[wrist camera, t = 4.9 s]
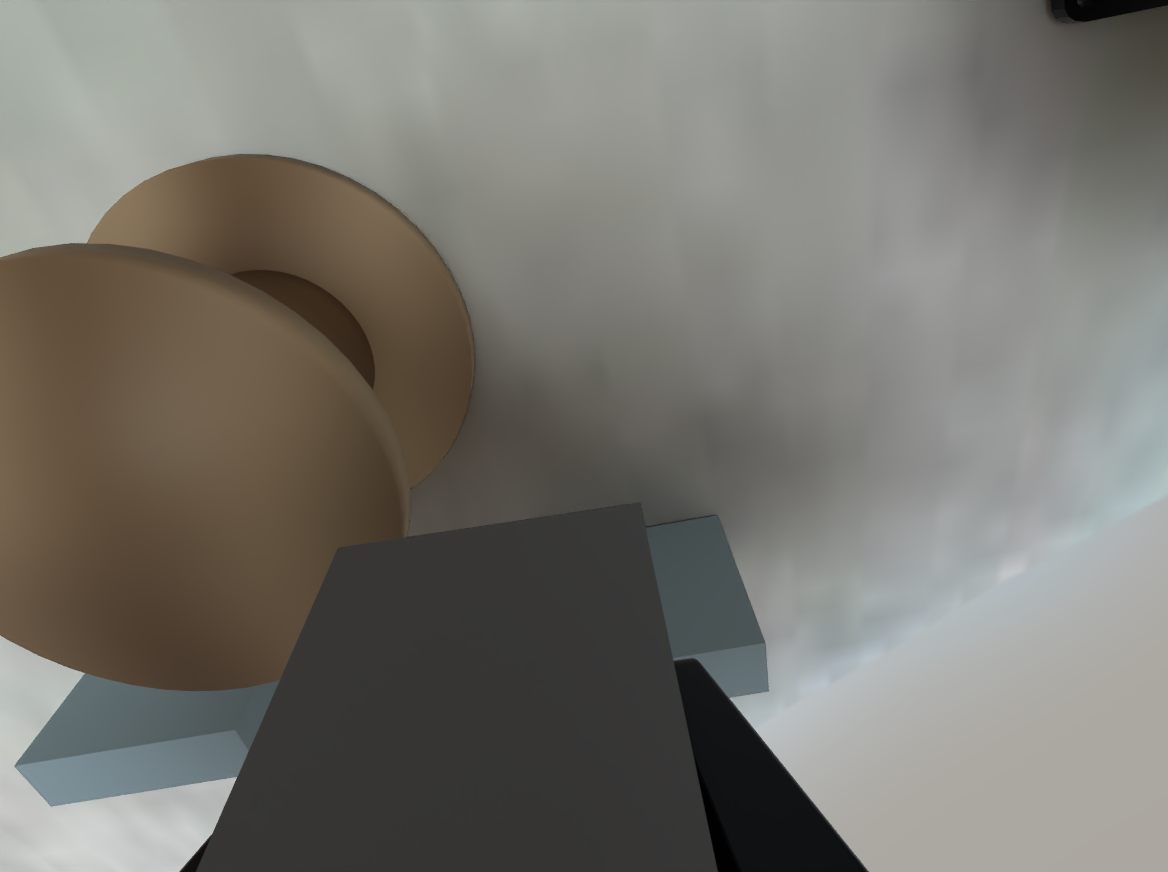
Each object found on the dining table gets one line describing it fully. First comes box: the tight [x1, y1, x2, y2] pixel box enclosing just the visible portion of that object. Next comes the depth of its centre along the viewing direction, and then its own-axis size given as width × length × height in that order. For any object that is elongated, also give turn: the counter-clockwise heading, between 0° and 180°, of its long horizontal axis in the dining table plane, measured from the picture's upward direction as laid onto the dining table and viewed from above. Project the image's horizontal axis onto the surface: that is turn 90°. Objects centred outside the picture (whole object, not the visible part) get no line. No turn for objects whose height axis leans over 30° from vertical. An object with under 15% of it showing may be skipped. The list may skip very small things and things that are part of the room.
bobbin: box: [0, 154, 475, 691], centre depth 14 cm, size 9×9×7 cm
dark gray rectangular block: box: [196, 503, 718, 872], centre depth 7 cm, size 4×4×6 cm
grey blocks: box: [15, 515, 769, 806], centre depth 18 cm, size 18×2×5 cm, turn 100°
